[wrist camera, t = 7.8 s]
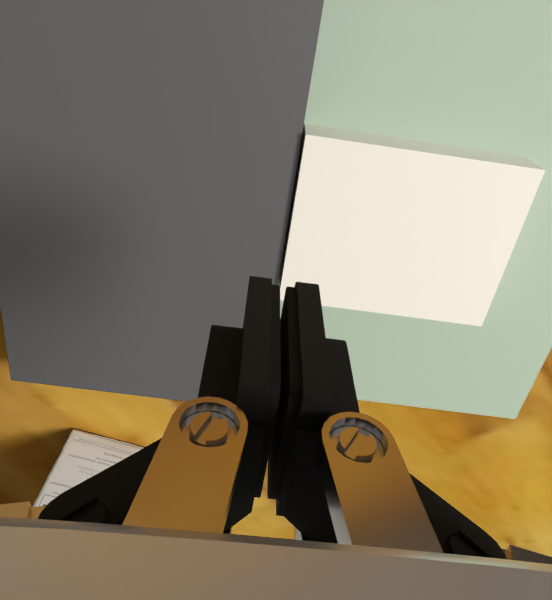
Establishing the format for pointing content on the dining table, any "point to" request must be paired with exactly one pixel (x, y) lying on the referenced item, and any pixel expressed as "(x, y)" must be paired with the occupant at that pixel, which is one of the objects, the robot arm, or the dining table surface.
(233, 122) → the block
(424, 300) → the tile
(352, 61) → the mat
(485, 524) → the dining table surface
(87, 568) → the robot arm
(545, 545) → the dining table surface
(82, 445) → the syrup box
